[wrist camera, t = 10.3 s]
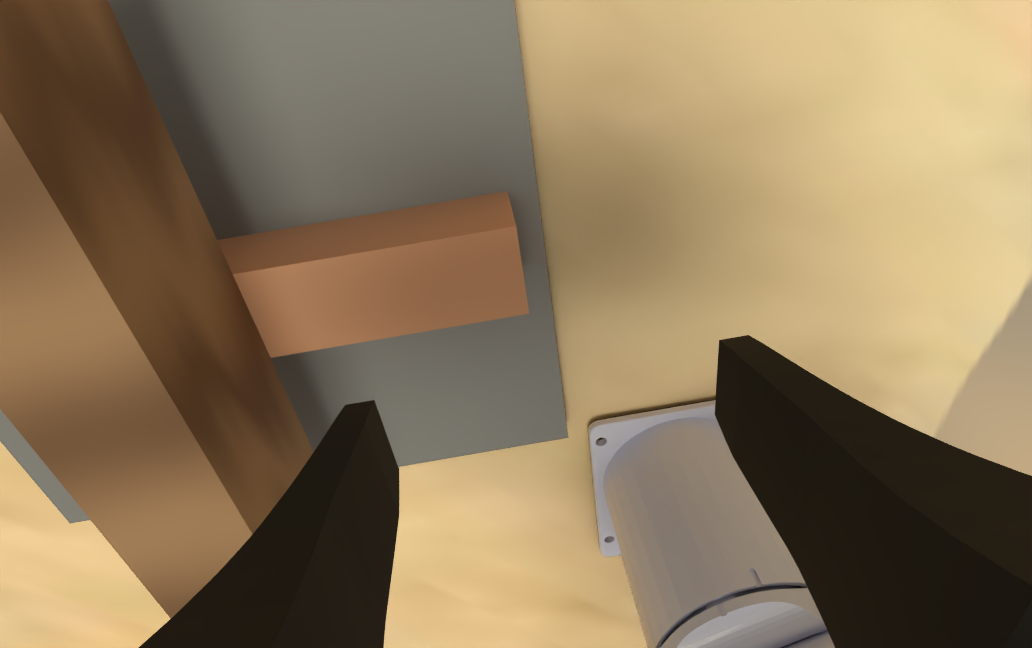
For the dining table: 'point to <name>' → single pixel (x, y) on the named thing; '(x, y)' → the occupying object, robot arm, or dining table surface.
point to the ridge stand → (365, 209)
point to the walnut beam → (127, 311)
